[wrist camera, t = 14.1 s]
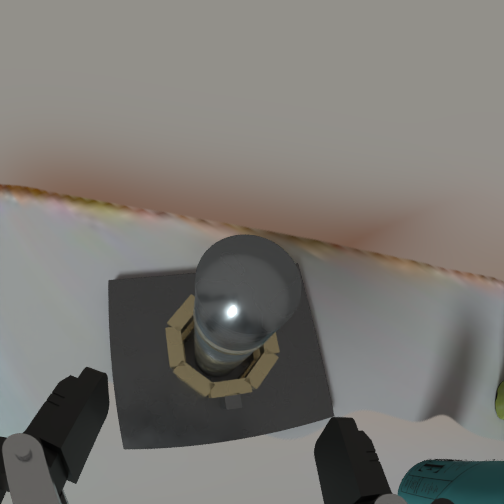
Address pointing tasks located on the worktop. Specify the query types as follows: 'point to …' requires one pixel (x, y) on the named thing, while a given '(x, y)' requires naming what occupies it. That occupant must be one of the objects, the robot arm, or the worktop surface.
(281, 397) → the dark square plate
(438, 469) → the beverage bottle
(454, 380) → the worktop surface
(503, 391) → the plant pot
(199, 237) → the worktop surface
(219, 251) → the glossy dome-topped cylinder
